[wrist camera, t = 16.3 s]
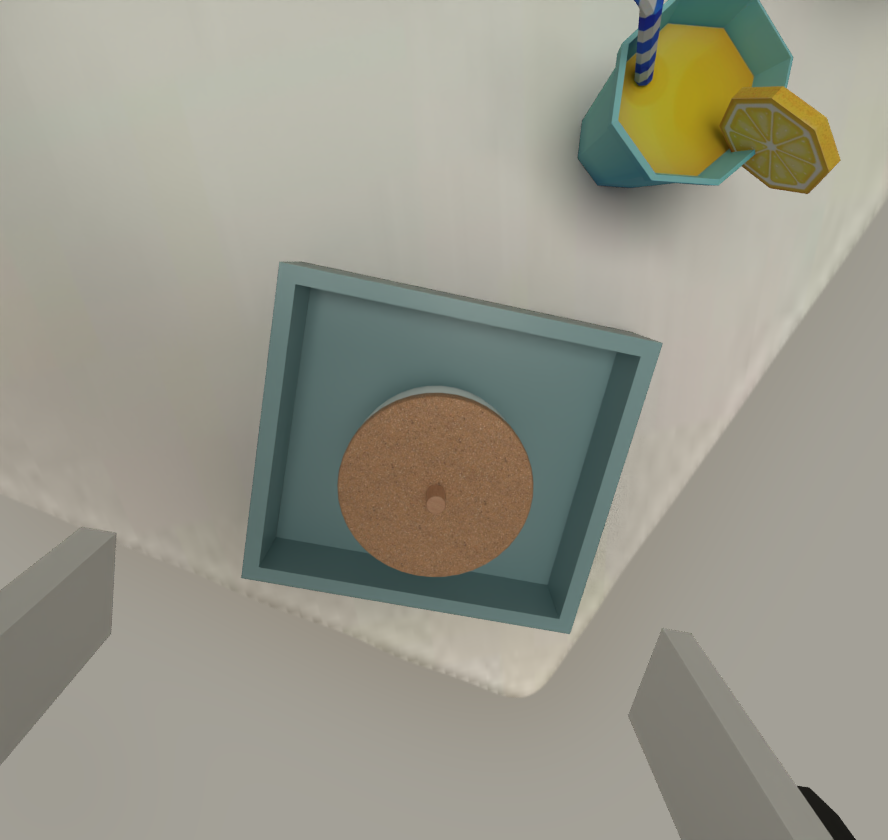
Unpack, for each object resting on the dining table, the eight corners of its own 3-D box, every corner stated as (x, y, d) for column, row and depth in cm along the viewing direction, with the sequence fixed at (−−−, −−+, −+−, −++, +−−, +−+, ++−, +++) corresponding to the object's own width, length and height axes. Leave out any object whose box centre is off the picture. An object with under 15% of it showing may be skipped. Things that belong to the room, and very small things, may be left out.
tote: (264, 540, 40) (241, 577, 35) (301, 261, 35) (279, 261, 30) (554, 591, 42) (569, 634, 37) (632, 332, 36) (662, 343, 31)
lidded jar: (477, 538, 39) (490, 620, 30) (335, 487, 38) (303, 557, 29) (540, 403, 36) (574, 450, 27) (388, 343, 35) (373, 371, 26)
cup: (474, 141, 33) (505, 49, 18) (537, 7, 31) (625, -214, 17) (670, 249, 35) (835, 241, 20) (740, 128, 33) (977, 25, 18)
